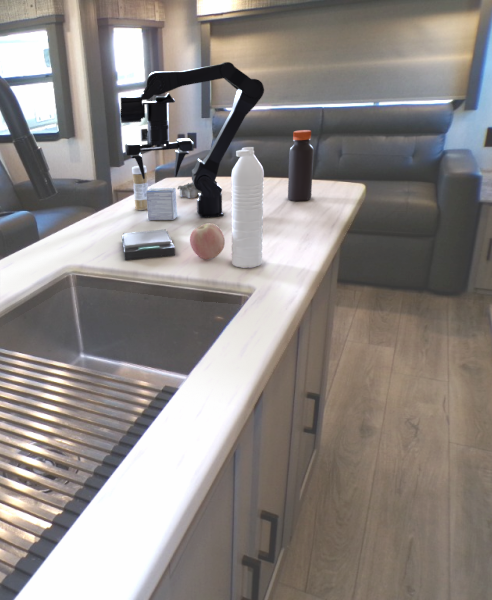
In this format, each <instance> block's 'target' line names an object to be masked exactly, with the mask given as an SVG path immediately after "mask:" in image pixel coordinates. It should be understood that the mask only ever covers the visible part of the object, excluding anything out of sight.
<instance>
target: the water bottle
mask: <svg viewBox="0 0 492 600" xmlns="http://www.w3.org/2000/svg"><path fill="white" fill-rule="evenodd" d="M235 157H237V158H238V157H239V158H238V160H237V161H236V163H235V165H234V166H233V168H232V169H231V177H230V178H231V264H232V265H233V266H234V267H236V268H242V269H248V268H249V269H252V268H253V269H254V268H256V267H259V266H261V265H262V263H263V232H264V231H263V230H264V228H263V225H264V218H263V217H264V177H265V171H264V167H263V165H262V164H261V162H260V161H259V159H258V158H257V157H256V155H255V150H254V146H246V147H245V146H244V147H242V148H241V149H238V150H236V151H235Z"/></svg>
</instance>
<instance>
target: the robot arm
mask: <svg viewBox="0 0 492 600" xmlns="http://www.w3.org/2000/svg"><path fill="white" fill-rule="evenodd" d="M222 79H223V80H225V81H226V82H227V83H228V84H230V85H231V86H232V88H234V89H235V90H236V93H235V96H234V99H233V104H232V108H231V111H230V112H229V114H228V116H227V118H226V120H225V122H224V123H223V126H222V127H221V129H220V131H219V133H218V134H217V137H216V138H215V140H214V142H213V144H212V146H211V148H210V150H209V152H208V153H207V155H206V156H205V157H204V158H203V159H202V160H201V159H200V158H197V161H196V163H195V166H194V167H193V169H191V173H192V174H191V181H192V182H193V184H194V186H195V187H196V189H198V190H199V191H201V192H202V193H199V194H198V195H199V196H198V198H196V213H197V214H198V215H199V217H200V218H201V219H207V218H215V217H223V216H224V213H223V193H222V192H223V188H222V187H221V186H220V184H219V182H218V181H216V179H217V176H218V172H219V168H220V164H221V162H222V160H223V158H224V156H225V154H226V153H227V151H228V149H229V147H230V146H231V143H232V142H233V140H234V138H235V136H236V134H237V133H238V131H239V129H240V127H241V125H242V123H243V122H244V119H246V116H247V115H248V114H249V113H250V112H251V111H252V110H253V109H254V108H255V107H256V105H257V104H258V103H259V101H260V100H261V99H262V97H263V95H264V93H265V86H264V84H263V82H262V81H261V80H259V79H257V78H252V77H251V78H250V77H249V76H248V75H247V74H246V73H244V72H243V71H241V70H240V69H238V68H237V67H236V66H235V65H234V64H233V63H232V62H230V61H223V62H221V63H217V64H214V65H208V66H203V67H198V68H192V69H187V70H181V71H153V72H151V73H150V74H148V77H147V78H146V81H145V83H146V85H145V88H144V89H143V91H142V92H141V94H140V96H121V97H120V111H119V112H120V113H119V114H120V123H121V124H129V123H130V124H132V123H142V119H145V118H146V113H147V128H141V129H140V141H141V142H146V143H147V144H141V143H140V142H139V141H134V142H133V141H132V142H126V143H125V144H124V151H125V152H124V153H125V155H126V156H130V158H131V159H134V160H135V161H136V163H137V166H139V168H140V171H141V174H142V177H143V179H145V173H144V167H143V166H144V161H143V156H142V154H141V153H142V152H152V151H153V152H155V151H166V150H167V151H169V150H175V159H174V160H175V162H174V177H175V178H177V177H178V174H179V171H180V168H181V165H182V162H183V161H184V160H185V159H184V158H185V157H186V156H187V155H190V152H193V151H194V150H195V149H194V146H195V145H194V141H192V140H191V138H189V137H188V138H187V137H186V138H176V141H173V142H170V129H169V126H170V125H169V123H170V122H169V121H170V120H169V104H172V103H173V104H174V103H175V102H176V99H174V98H173V97H172V95H171V94H170V93H169V92H171V91H173V90H176V89H178V88H181V87H184V86H190V85H195V84H201V83H206V82H211V81H217V80H222ZM165 93H167V94H166V95H164V96H161V95H163V94H165ZM154 96H155V97H154ZM152 97H154V100H152V101H151V100H150V99H152ZM148 100H150V101H148ZM145 106H146V107H145ZM192 182H191V183H192Z"/></svg>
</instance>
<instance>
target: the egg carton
mask: <svg viewBox="0 0 492 600" xmlns="http://www.w3.org/2000/svg"><path fill="white" fill-rule="evenodd" d="M177 190H179V196H180V198H185V197H186V198H188V199H193V198H198V197H199V195H198V194H199V193H202V192H201V191H199V190H198V189H196V187H195V186H194V184H193V182H190V183H189V182H188V183H187V184H186V183H185V184H184V185H178V187H177Z"/></svg>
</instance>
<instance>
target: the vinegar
mask: <svg viewBox="0 0 492 600" xmlns="http://www.w3.org/2000/svg"><path fill="white" fill-rule="evenodd" d="M292 135H293V136H292V142H293V145H292V146H291V147H290V148H289V152H288V153H289V154H288V157H289V158H288V179H287V180H288V181H287V182H288V183H287V184H288V185H287V186H288V187H287V199H288V200H289V201H291V202H292V201H293V202H305V201H309V200H311V198H312V191H313V190H312V189H313V188H312V186H313V171H314V170H313V167H314V151H315V149H314V147H313V146H312V145H311V139H312V130H310V129H300V130H295V131H293V134H292Z"/></svg>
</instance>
